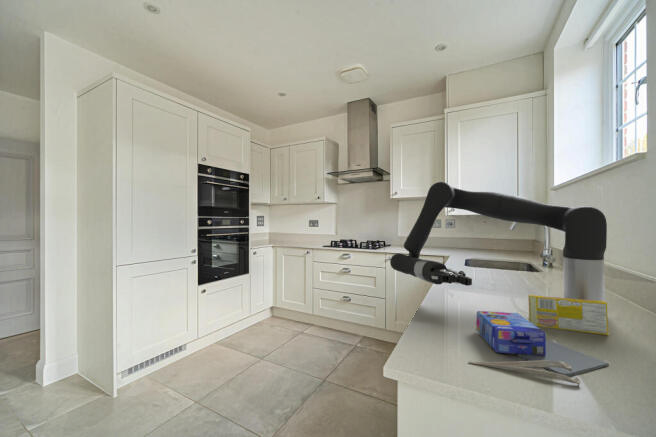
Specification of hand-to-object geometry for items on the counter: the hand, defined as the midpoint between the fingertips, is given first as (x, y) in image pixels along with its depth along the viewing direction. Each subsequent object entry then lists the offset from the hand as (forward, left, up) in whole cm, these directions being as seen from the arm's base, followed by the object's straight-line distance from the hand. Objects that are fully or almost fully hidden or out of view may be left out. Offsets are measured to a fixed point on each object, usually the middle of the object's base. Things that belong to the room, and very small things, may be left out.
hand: (470, 282), depth 79 cm
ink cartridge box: (+1, +9, -8) cm, 12 cm away
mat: (0, +21, -11) cm, 23 cm away
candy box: (-19, +13, -11) cm, 26 cm away
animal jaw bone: (+13, +24, -11) cm, 29 cm away
